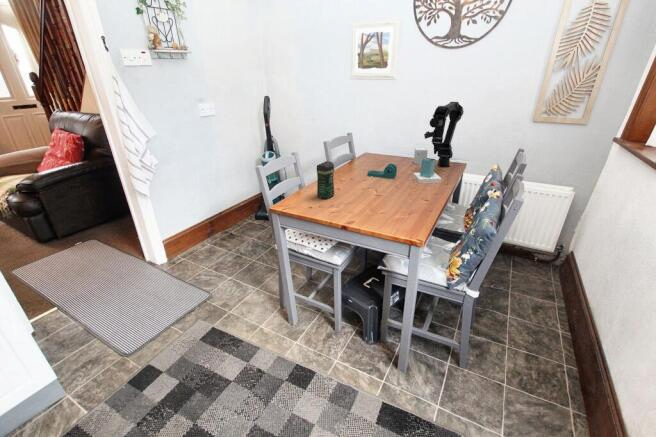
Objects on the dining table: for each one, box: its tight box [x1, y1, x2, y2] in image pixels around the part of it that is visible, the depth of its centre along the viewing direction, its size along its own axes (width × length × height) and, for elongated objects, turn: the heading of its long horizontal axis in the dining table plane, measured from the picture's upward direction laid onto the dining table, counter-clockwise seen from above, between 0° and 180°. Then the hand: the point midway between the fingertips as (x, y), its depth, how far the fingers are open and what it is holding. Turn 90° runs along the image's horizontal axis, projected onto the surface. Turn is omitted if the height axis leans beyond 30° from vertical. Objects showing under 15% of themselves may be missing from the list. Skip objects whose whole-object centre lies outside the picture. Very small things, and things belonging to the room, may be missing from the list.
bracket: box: [367, 163, 398, 180], centre depth 191 cm, size 18×7×8 cm, turn 67°
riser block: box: [412, 172, 442, 184], centre depth 184 cm, size 13×13×3 cm
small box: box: [413, 147, 428, 165], centre depth 214 cm, size 8×6×10 cm
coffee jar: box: [316, 160, 335, 199], centre depth 159 cm, size 10×8×19 cm
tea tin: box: [419, 157, 437, 178], centre depth 181 cm, size 6×6×10 cm
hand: (434, 153), depth 191 cm, fingers open, 9 cm apart
